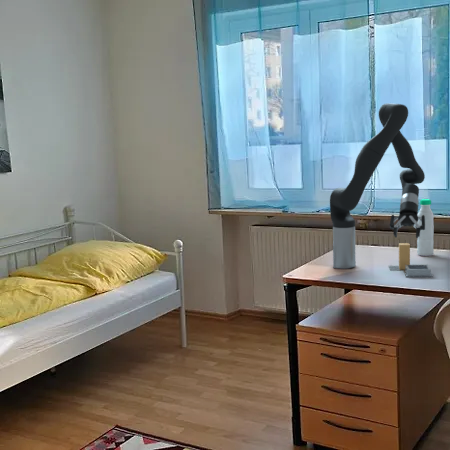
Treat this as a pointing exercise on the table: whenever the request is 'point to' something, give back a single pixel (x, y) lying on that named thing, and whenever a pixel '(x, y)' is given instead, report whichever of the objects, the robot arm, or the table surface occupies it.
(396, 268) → the jamb plate
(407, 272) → the tray
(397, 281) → the table surface
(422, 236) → the water bottle
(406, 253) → the block
